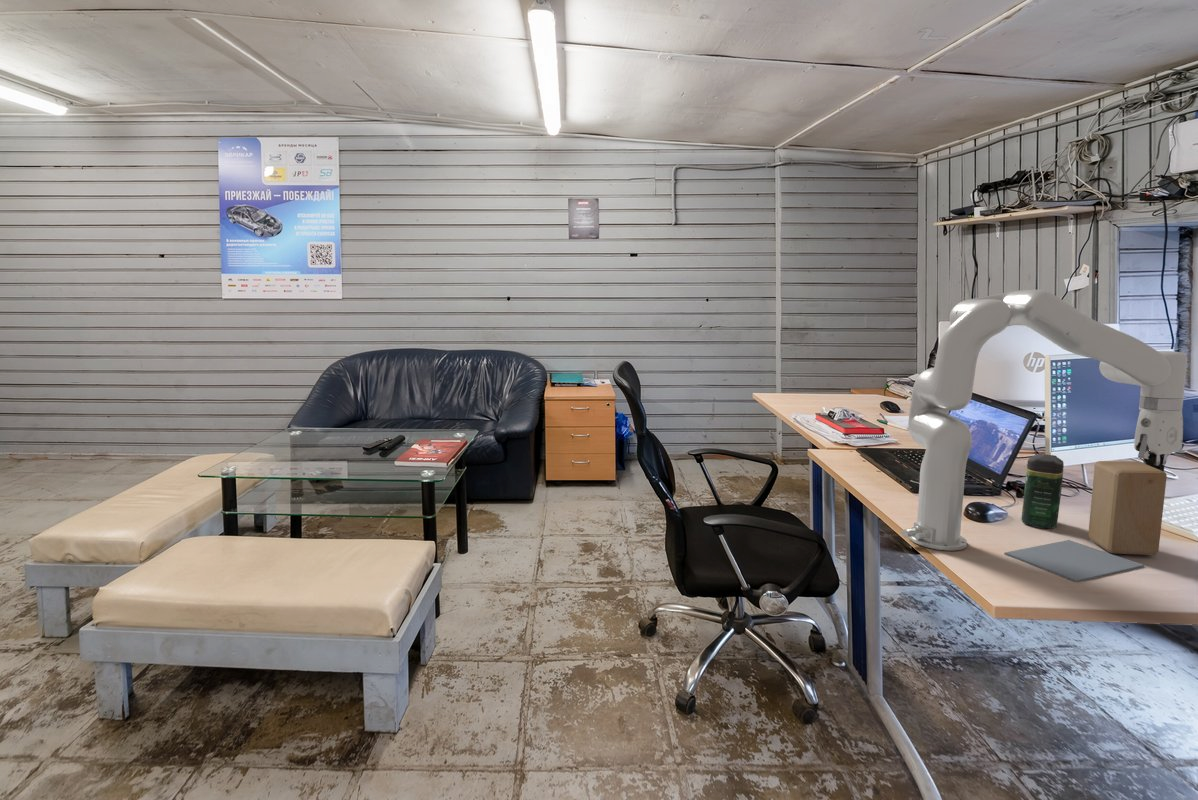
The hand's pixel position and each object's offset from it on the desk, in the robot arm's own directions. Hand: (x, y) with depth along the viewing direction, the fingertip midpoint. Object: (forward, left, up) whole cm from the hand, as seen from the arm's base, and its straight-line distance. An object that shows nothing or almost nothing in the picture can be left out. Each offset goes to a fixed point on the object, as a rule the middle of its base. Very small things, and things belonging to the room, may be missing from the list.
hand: (1152, 480), depth 148 cm
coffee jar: (-8, +20, -17) cm, 27 cm away
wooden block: (-8, 0, -16) cm, 18 cm away
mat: (-25, 0, -16) cm, 30 cm away
